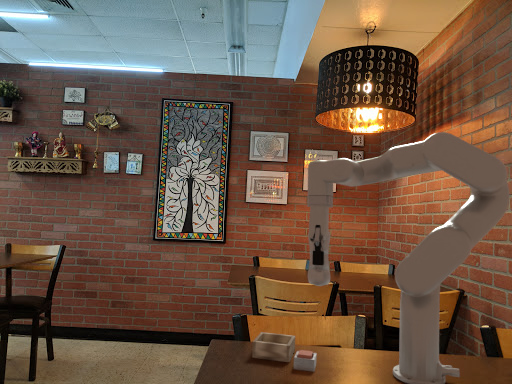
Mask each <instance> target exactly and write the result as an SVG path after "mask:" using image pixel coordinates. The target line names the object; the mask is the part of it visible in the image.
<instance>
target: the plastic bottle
mask: <svg viewBox="0 0 512 384" xmlns="http://www.w3.org/2000/svg"><path fill="white" fill-rule="evenodd" d="M320 232H321V229H320ZM307 238H308V245H309V263H308V271H307V280H308V281H307V282H308V283H309V284H310V285H314V286H317V287H322V286H327V285H329V284H330V282H331V278H332V277H331V272H330V271H331V270H330V263H329V251H330V243H331V242H330V241H331V233H330V231H329V230H328V231H327V235H326V240H325V241H323V251H324V265H313V264H312V260H313V242H314V236H313V238H310V239H311V241H310V240H309V232H308V233H307ZM320 240H322V238H320Z"/></svg>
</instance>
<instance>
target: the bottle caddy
mask: <svg viewBox="0 0 512 384" xmlns="http://www.w3.org/2000/svg"><path fill="white" fill-rule="evenodd" d="M294 351H295V352H296V335H291V334H290V335H289V334H283V333H282V334H281V333H271V332H263V331H261V332H259V334H258V335H257V336H256V337H255V338H254V339H253V341H252V359H253V358H254V359H262V360H269V361H277V362H286V363H290V361H291V360H292V357H293V356H294V354H295V352H294ZM293 353H294V354H293Z"/></svg>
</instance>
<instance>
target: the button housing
mask: <svg viewBox="0 0 512 384" xmlns="http://www.w3.org/2000/svg"><path fill="white" fill-rule="evenodd" d="M299 351H300V350H297V351H295V352H296V353H294V355H293V356H294V357H293V370H298V371H304V372H305V371H306V372H307V371H308V372H313V373H314V372H315V370H316V366H317V352H313V358H312V359H308V358H300V357H298V353H299Z"/></svg>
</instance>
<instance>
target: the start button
mask: <svg viewBox="0 0 512 384" xmlns="http://www.w3.org/2000/svg"><path fill="white" fill-rule="evenodd" d="M298 351H299V353H298V357H300V358H308V359H312V358H313V353H314V351H312V350H303V349H299V350H298Z"/></svg>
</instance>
